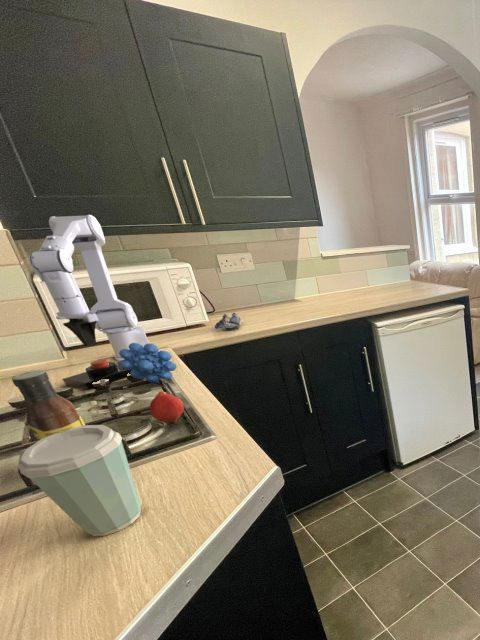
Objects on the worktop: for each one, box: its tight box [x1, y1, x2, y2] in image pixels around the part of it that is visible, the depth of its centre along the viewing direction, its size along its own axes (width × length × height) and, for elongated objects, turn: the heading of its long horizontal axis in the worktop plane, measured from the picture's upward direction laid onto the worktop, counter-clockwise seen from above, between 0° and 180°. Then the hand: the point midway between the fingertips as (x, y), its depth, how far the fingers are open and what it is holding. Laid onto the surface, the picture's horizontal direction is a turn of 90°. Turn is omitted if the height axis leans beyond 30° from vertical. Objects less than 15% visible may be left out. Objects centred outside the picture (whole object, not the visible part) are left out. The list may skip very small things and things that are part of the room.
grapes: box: [119, 343, 178, 384], centre depth 115 cm, size 12×7×12 cm, turn 118°
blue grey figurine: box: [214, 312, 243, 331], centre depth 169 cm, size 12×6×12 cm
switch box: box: [62, 361, 131, 391], centre depth 122 cm, size 14×11×4 cm
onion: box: [149, 390, 185, 424], centre depth 93 cm, size 6×6×8 cm
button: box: [90, 359, 109, 369], centre depth 121 cm, size 4×4×2 cm
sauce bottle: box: [11, 369, 86, 442], centre depth 75 cm, size 7×6×20 cm
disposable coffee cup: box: [17, 424, 142, 538], centre depth 62 cm, size 11×11×15 cm
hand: (90, 344), depth 118 cm, fingers closed
